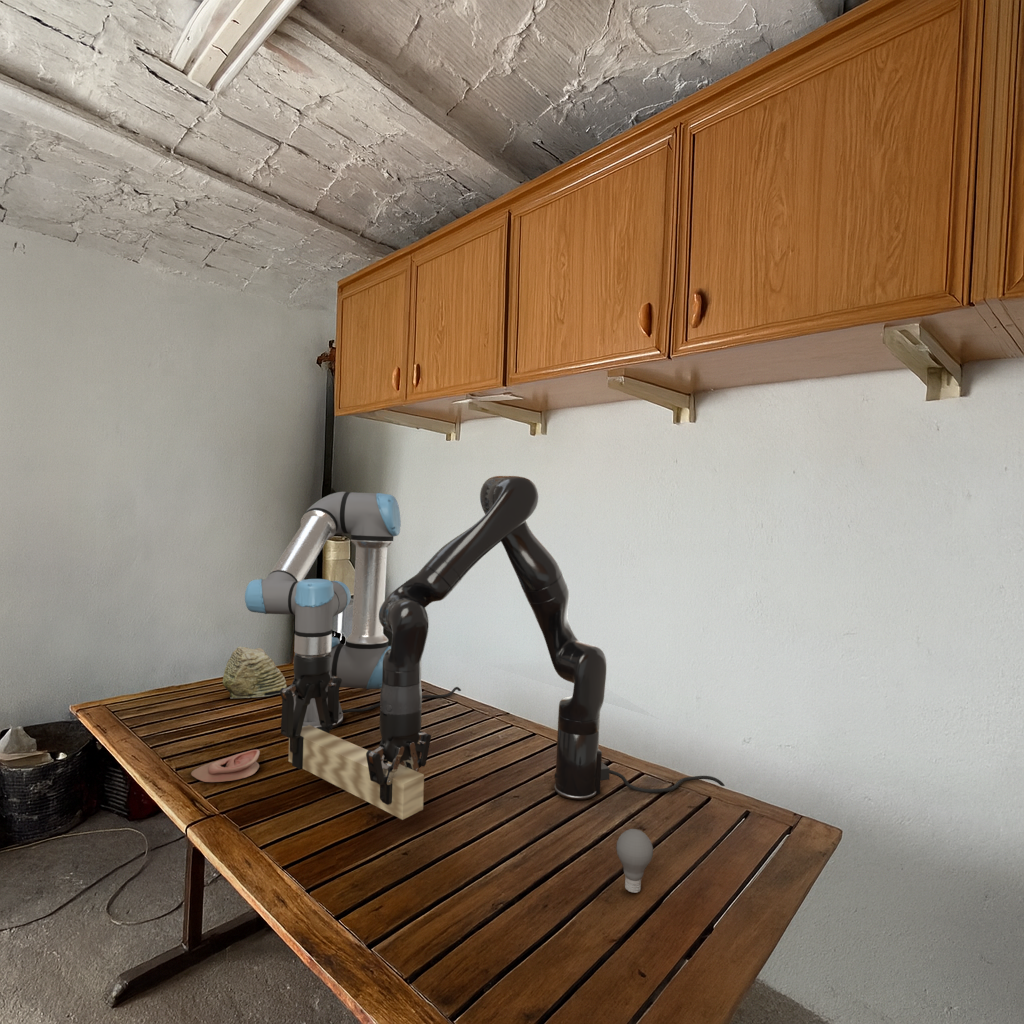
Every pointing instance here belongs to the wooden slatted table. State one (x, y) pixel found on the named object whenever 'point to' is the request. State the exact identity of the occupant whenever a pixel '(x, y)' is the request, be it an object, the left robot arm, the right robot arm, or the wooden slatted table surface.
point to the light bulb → (634, 857)
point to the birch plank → (359, 772)
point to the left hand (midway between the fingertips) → (309, 762)
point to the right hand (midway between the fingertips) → (398, 796)
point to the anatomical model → (229, 768)
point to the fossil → (252, 674)
